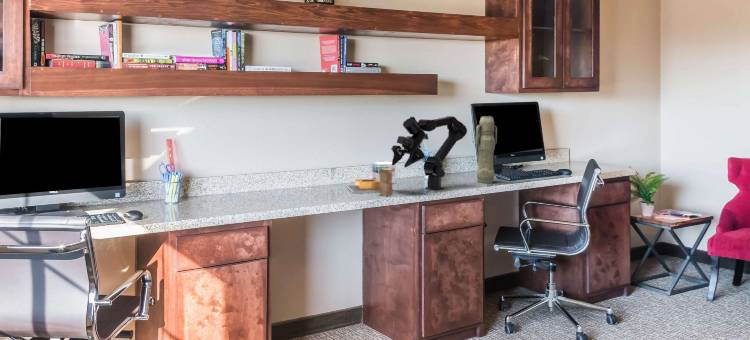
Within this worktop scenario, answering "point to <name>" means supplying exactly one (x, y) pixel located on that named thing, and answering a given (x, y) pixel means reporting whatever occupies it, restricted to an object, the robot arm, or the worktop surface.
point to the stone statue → (486, 149)
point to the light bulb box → (383, 166)
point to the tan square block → (386, 181)
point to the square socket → (365, 186)
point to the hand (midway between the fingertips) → (398, 165)
